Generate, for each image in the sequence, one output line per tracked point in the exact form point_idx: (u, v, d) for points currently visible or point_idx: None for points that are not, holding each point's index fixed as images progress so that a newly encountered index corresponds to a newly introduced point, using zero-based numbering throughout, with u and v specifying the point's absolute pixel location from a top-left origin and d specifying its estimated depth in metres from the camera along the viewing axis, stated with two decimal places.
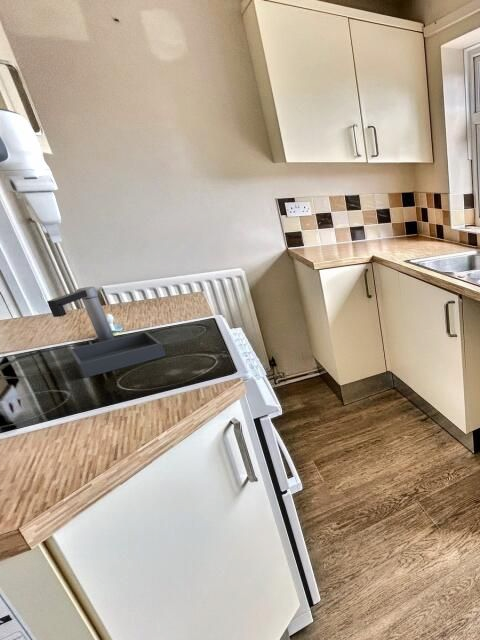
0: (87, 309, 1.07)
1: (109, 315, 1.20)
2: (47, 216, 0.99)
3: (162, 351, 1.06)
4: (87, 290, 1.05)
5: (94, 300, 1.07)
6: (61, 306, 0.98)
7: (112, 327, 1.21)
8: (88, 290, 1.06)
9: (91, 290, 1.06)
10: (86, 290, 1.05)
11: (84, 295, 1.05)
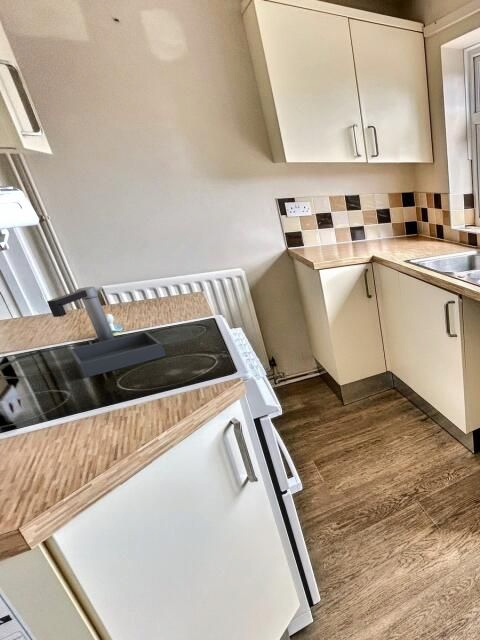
0: (87, 309, 1.07)
1: (109, 315, 1.20)
2: None
3: (162, 351, 1.06)
4: (87, 290, 1.05)
5: (94, 300, 1.07)
6: (61, 306, 0.98)
7: (112, 327, 1.21)
8: (88, 290, 1.06)
9: (91, 290, 1.06)
10: (86, 290, 1.05)
11: (84, 295, 1.05)
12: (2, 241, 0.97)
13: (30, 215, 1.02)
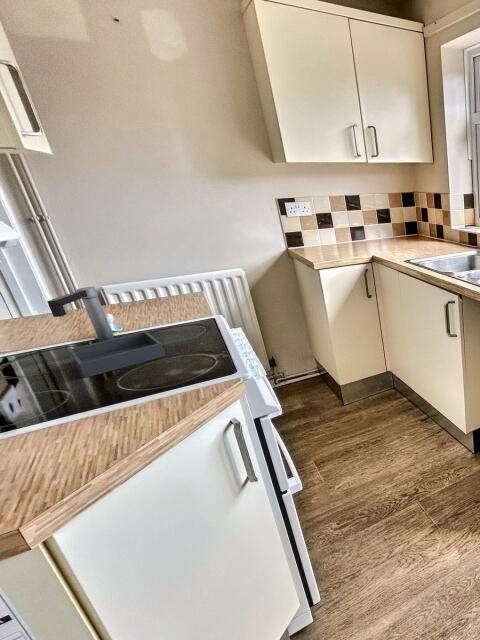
0: (87, 309, 1.07)
1: (109, 315, 1.20)
2: None
3: (162, 351, 1.06)
4: (87, 290, 1.05)
5: (94, 300, 1.07)
6: (61, 306, 0.98)
7: (112, 327, 1.21)
8: (88, 290, 1.06)
9: (91, 290, 1.06)
10: (86, 290, 1.05)
11: (84, 295, 1.05)
12: None
13: None
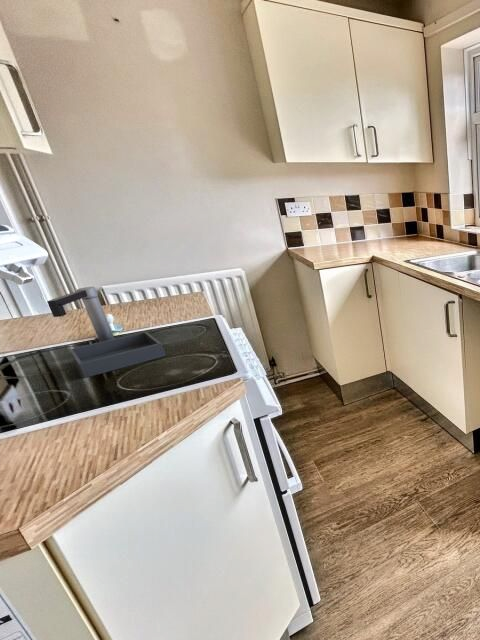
0: (87, 309, 1.07)
1: (109, 315, 1.20)
2: None
3: (162, 351, 1.06)
4: (87, 290, 1.05)
5: (94, 300, 1.07)
6: (61, 306, 0.98)
7: (112, 327, 1.21)
8: (88, 290, 1.06)
9: (91, 290, 1.06)
10: (86, 290, 1.05)
11: (84, 295, 1.05)
12: None
13: None
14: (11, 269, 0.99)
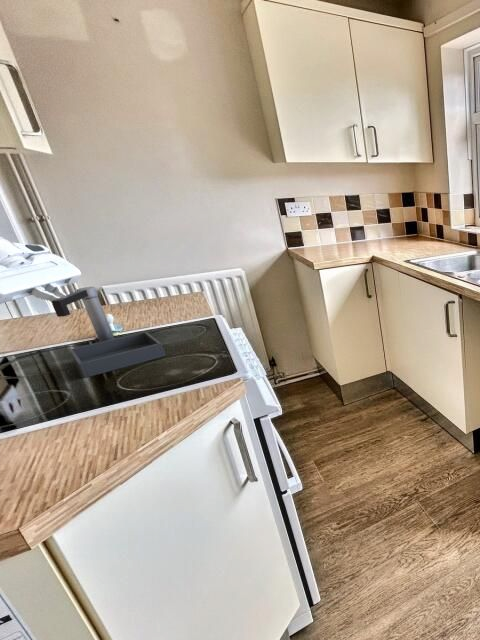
0: (87, 309, 1.07)
1: (109, 315, 1.20)
2: None
3: (162, 351, 1.06)
4: (88, 290, 1.06)
5: (94, 300, 1.07)
6: (65, 306, 0.98)
7: (112, 327, 1.21)
8: (89, 290, 1.06)
9: (92, 290, 1.06)
10: (87, 290, 1.05)
11: (85, 295, 1.05)
12: None
13: None
14: (47, 289, 1.01)
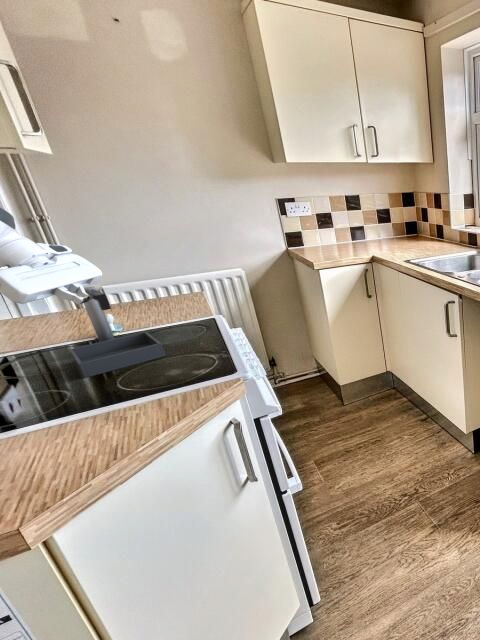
0: (87, 309, 1.07)
1: (109, 315, 1.20)
2: None
3: (162, 351, 1.06)
4: (93, 289, 1.07)
5: (94, 300, 1.07)
6: None
7: (112, 327, 1.21)
8: (94, 289, 1.07)
9: (95, 289, 1.07)
10: (92, 289, 1.06)
11: None
12: None
13: None
14: (69, 289, 1.01)
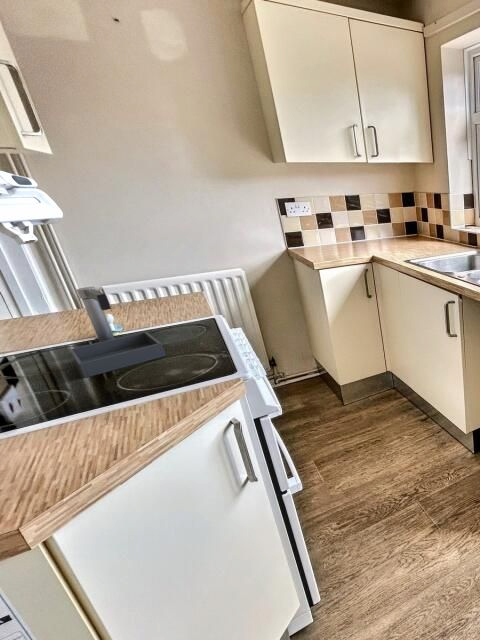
0: (87, 309, 1.07)
1: (109, 315, 1.20)
2: None
3: (162, 351, 1.06)
4: (93, 289, 1.07)
5: (94, 300, 1.07)
6: None
7: (112, 327, 1.21)
8: (94, 289, 1.07)
9: (95, 289, 1.07)
10: (92, 289, 1.06)
11: None
12: None
13: None
14: (18, 225, 0.96)
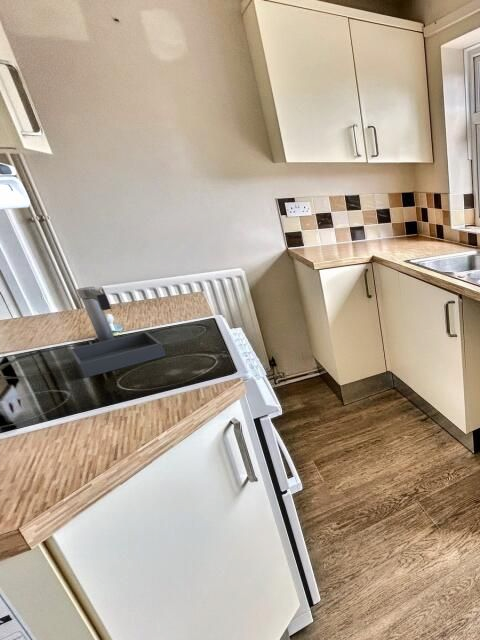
0: (87, 309, 1.07)
1: (109, 315, 1.20)
2: None
3: (162, 351, 1.06)
4: (93, 289, 1.07)
5: (94, 300, 1.07)
6: None
7: (112, 327, 1.21)
8: (94, 289, 1.07)
9: (95, 289, 1.07)
10: (92, 289, 1.06)
11: None
12: None
13: None
14: None
